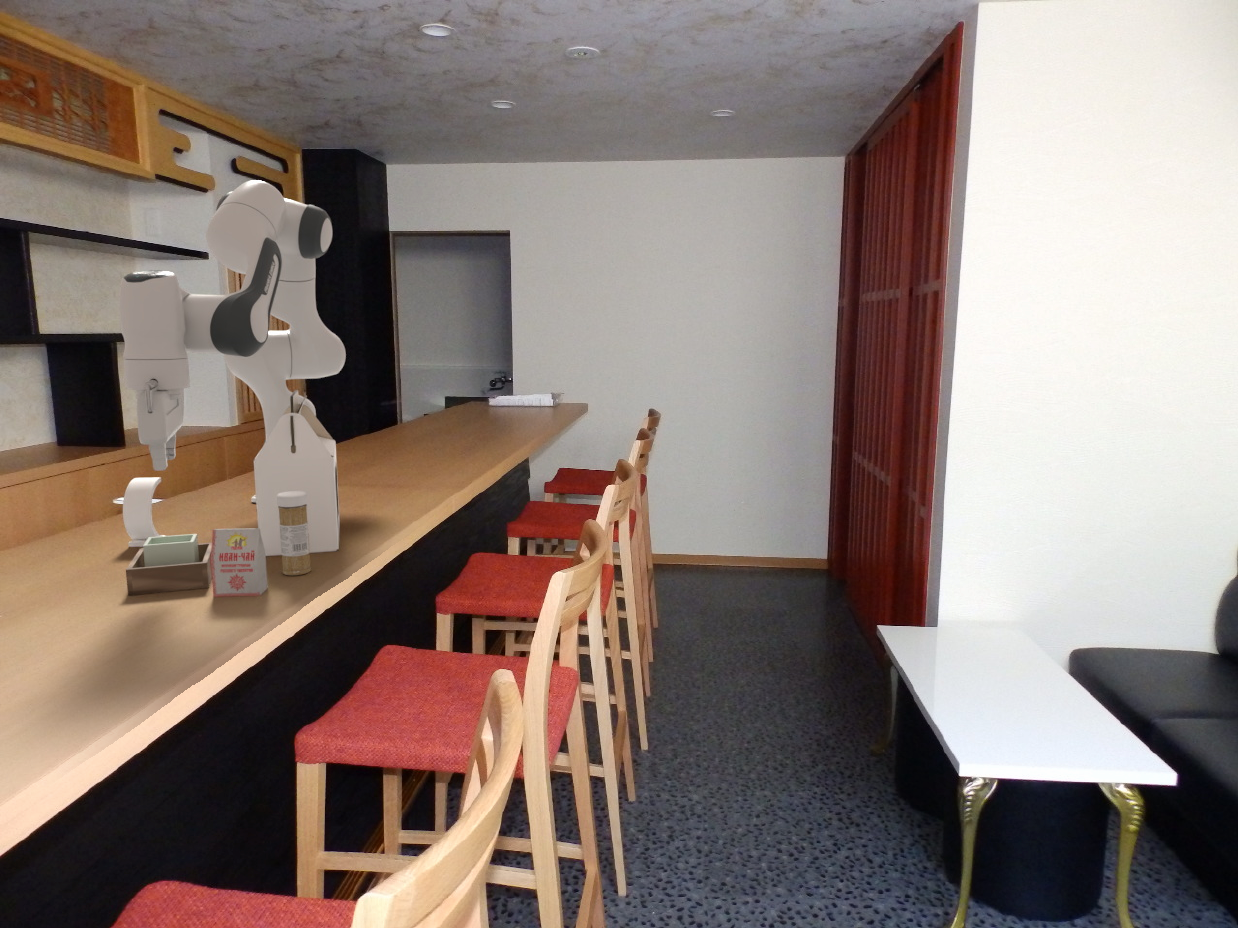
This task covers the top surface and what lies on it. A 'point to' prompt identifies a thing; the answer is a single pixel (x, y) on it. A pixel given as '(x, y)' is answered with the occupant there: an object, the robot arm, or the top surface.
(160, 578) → the large crate
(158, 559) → the box
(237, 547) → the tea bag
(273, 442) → the gable box
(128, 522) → the headphone stand
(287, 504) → the sprinkles bottle
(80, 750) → the top surface
